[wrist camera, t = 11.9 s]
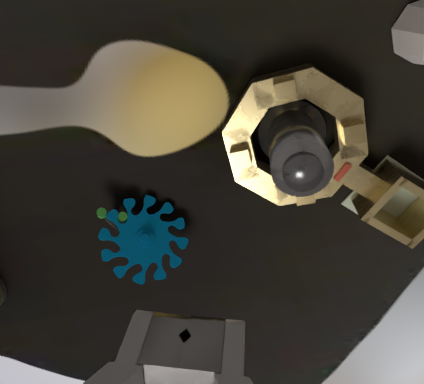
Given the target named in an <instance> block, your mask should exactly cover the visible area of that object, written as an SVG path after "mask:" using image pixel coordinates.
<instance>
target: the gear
mask: <svg viewBox="0 0 424 384" xmlns="http://www.w3.org/2000/svg"><path fill="white" fill-rule="evenodd" d="M155 201H156V199H155V198H154V197H152V196H149V195H146V196H145V198H144V206H143V209H142V211H141V212H140V213H139V214H138V215H133V214H132V213H131V210H132V208H133V207H134V205H135V199H133V198H128V199H124V202H123V205H124V207H125V208H126V210H127V214H126V213H125V212H121V213H119V212H118V211H117V210H115V209H111V210H108V211H107V212H106V210H105V209H104V208H99V209H98V210H97V216H98V217H99V218H101V219H103V218H105V219H106V221H107V222H108V223H109V224H110V225H112V226H113V227H114V228H116V229H117V230H118V231H119V232H120V234H119V236H118V237H112V236H111V235H110V232H109V230H108V229H106V228H102V229H101V231H100V233H99V236H98V238H99V239H100V240H110V241H113V242H115V243H116V244H118V245H119V246H120V251H119V252H118V253H113V252H111V251H110V250H108V249H104V250H102V260H103V261H109V260H110V259H112V258H114V257H126V258H128V260H129V262H128V264H127V265H126V266H117V267H115V268H114V270H113V271H114V273H115V274H116V276H117V277H118V278H122V277H123V276H124V275H125V272H126V271H127V270H128V269H129V268H130V267H131V266H133V265H135V264H141V265H142V271H141V272H140V273H137V274H135V275H134V277H133V281H134V282H136V283H138V284H144V282H145V273H146V270H147V268H148V266H149V265H150V264H151V263H152V262H155V263H156V264H157V266H158V268H157V270H156V271H155V273H154V279H155V280H162V279H165V278H166V273H165V272H164V270H163V268H162V256H163V255H164V254H168V255H169V256H170V266H171V267H173V268H175V267H177V266H179V265H180V264H181V263H182V260H181V258H180V257H178V256H176V255H175V254H173V252H172V251H171V249H170V247H169V242H170V241H171V240H173V241H175V242H176V244H177V246H178V247H179V248H180V249H185V248H186V246H187V244H188V239H187V238H184V237H183V238H179V237H175V236H173V235H172V234H171V233H169V231H168V227H169V226H174V227H175V228H176V229H179V230H180V229H183V228H184V227H185V223H184V219H183V218H178V219H176V220H175V221H172V222H165V221H162V220H161V219H160V215H161V214H170V213H171V212H172V211H173V210H174V209H173V207H172V205H171V204H170V203H169V202H166V203H165V204H164V205H163V206H162V208H161V210H160V211H158V212H157V213H155V214H152V215H150V214H148V213H147V211H146V209H147V208H148V207H150V206H153V205H154V203H155Z"/></svg>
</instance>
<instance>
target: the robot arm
mask: <svg viewBox="0 0 424 384" xmlns="http://www.w3.org/2000/svg"><path fill="white" fill-rule="evenodd" d="M244 342H245V322H244V321H241V320H230V319H226V322H225V319H222V318H210V317H199V316H184V315H176V314H168V313H160V312H150V311H142V310H136V311H135V313H134V314H133V316H132V319H131V321H130V324H129V326H128V329H127V332H126V334H125V337H124V339H123V342H122V345H121V347H120V350H119V352H118V355H117V358H116V360H115V362H108V363H107V364H106V365H105V366H103V367H102V368H101V369H100V370H99V371H97V372H96V373H95V374H94V375H93V376H91V377H90V378H89V379H88V380H87V381H85V382H84V383H83V384H253V382H252V381H251V379H250V378H249V377H244Z"/></svg>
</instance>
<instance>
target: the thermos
mask: <svg viewBox="0 0 424 384" xmlns="http://www.w3.org/2000/svg"><path fill="white" fill-rule="evenodd" d="M6 298H7V288H6V286H5V283H4V282H3V281H2V279H1V278H0V306H1V305H2V304H3V303H4V301H5V300H6Z"/></svg>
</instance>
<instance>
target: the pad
mask: <svg viewBox="0 0 424 384" xmlns="http://www.w3.org/2000/svg"><path fill="white" fill-rule="evenodd" d="M386 159H388V160H390V161H391V162H393V163H395V164H396V165H398V166H400V167H401V168H403V169H405V170H406V171H408V172H410V173H411V174H413V175H414V176H416V177H418V178H419V179H421V180H423V179H422V178H420V177H419V176H418V175H416V174H415V173H413V172H412V171H410V170H409V169H407V168H406V167H404V166H403V165H401V164H400V163H398V162H397V161H395V160H394V159H393V158H391V157H390V156H388V155H387V156H386V157H385V158H384V159H383V160H382V161H381V162H380V163H379V164H378V165H377V166H376V167H375V168H374V169H373V170H375V171H376V170H377V169H378V168H379V166H380V165H381V164H382V163H383V162H384V161H385V160H386ZM423 181H424V180H423ZM355 193H356V192H355V191H354V190H353V191H352V192H351V193H350V194H349V195H348V196H347V197H346V198H345V199H344V200H343V201H342V202H341V204H342V205H344V206H345V207H347V208H348V209H350V210H352V211H353V212H355V213H356V214H358V213H357V211H356V209H355V207H354V205H353V203H352V201H351V198H352V197H353V195H354V194H355ZM417 198H418V196H416V195H415V194H413V193H411V192H410V191H408V190H406V189H405V188H403V187H401V188H400V189H399V190H398V192H397V193H396V194H395V195H394V196H393V197H392V198H391V199H390V200H389V201H388V202H387V203H386V204H385V205H384V206H383V207H382V209H383V210H385V211H387V212H389V213H390V214H392V215H394V216H395V217H397V218H398V217H399V216H400V215H401V214H402V213H403V212H404V211H405V210H406V209H407V208H408V207H409V206H410V205H411V204H412V203H413V202H414V201H415V200H416V199H417Z"/></svg>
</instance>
